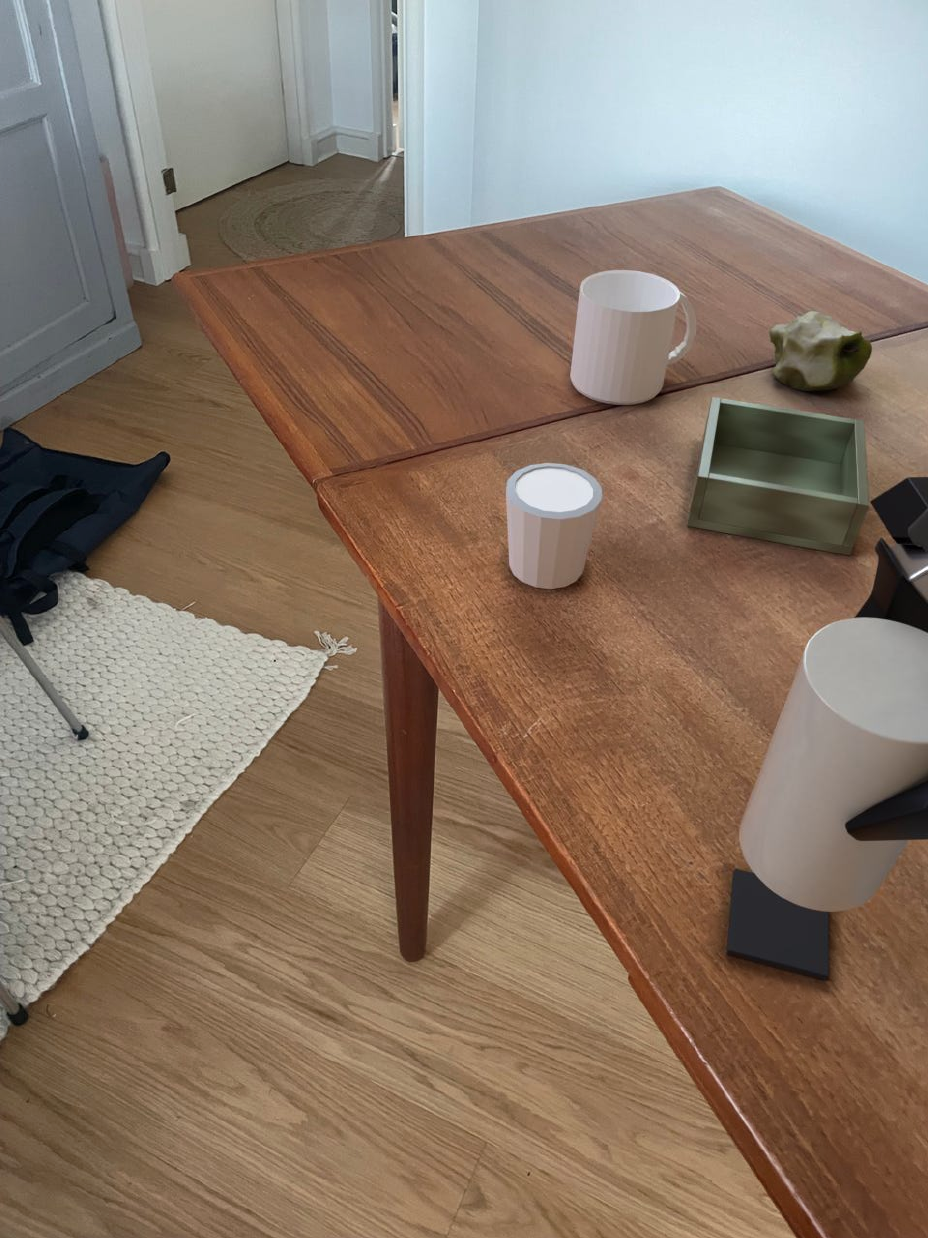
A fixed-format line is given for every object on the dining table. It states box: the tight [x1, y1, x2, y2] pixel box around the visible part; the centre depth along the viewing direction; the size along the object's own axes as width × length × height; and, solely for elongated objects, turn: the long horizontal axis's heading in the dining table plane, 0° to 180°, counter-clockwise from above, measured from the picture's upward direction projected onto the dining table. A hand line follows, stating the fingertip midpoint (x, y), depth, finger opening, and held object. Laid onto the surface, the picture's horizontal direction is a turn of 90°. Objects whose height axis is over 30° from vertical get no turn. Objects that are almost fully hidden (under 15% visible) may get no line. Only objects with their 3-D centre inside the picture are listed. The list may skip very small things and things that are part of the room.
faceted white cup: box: [505, 462, 603, 590], centre depth 68 cm, size 7×7×7 cm
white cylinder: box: [738, 617, 928, 913], centre depth 41 cm, size 7×7×12 cm
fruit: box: [769, 310, 873, 392], centre depth 91 cm, size 9×9×8 cm
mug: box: [570, 269, 697, 406], centre depth 88 cm, size 12×9×9 cm
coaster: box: [725, 867, 830, 981], centre depth 49 cm, size 5×5×1 cm
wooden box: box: [686, 396, 870, 556], centre depth 76 cm, size 13×13×5 cm
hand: (821, 762), depth 40 cm, fingers closed on white cylinder, 7 cm apart
